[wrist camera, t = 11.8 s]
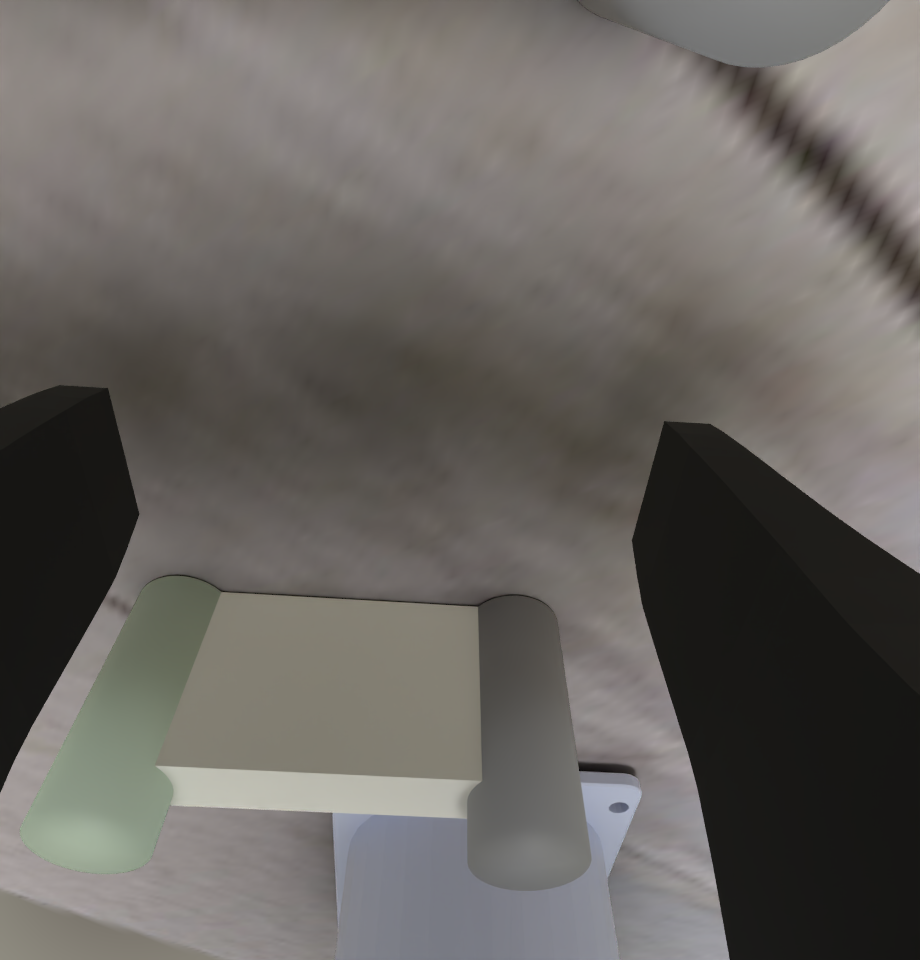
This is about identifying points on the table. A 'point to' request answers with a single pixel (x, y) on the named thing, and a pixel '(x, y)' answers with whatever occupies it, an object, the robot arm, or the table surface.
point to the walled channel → (365, 657)
